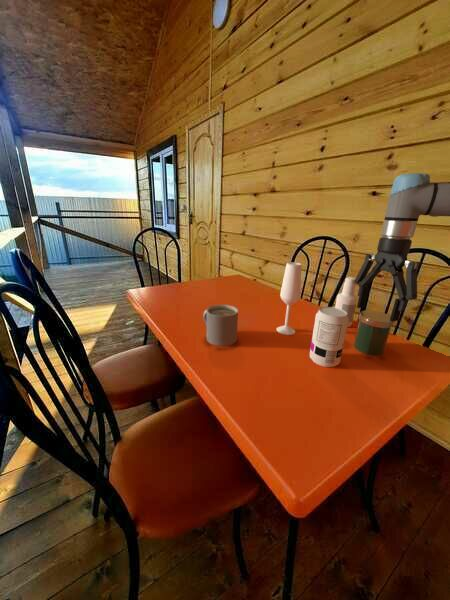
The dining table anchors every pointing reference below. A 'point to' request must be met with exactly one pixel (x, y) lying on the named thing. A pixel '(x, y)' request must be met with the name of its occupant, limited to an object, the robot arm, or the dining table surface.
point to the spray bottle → (347, 299)
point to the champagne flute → (290, 292)
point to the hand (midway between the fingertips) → (376, 313)
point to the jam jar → (371, 339)
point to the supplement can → (328, 336)
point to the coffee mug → (221, 324)
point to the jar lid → (375, 319)
